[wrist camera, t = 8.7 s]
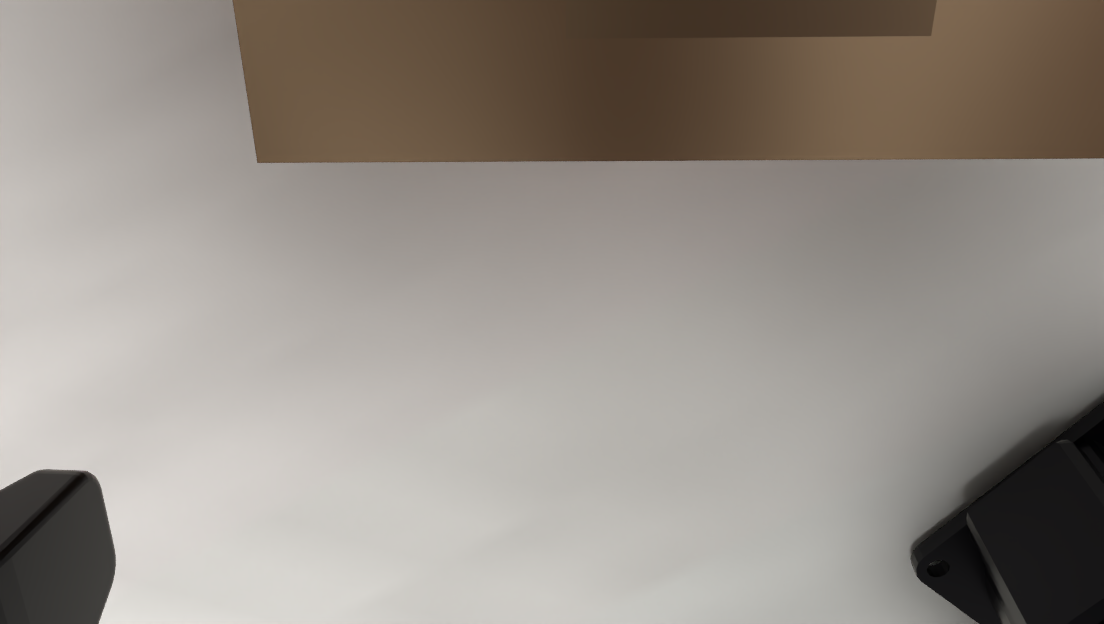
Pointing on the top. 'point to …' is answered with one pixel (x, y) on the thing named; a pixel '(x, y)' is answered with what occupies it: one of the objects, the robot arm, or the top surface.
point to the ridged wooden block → (672, 79)
